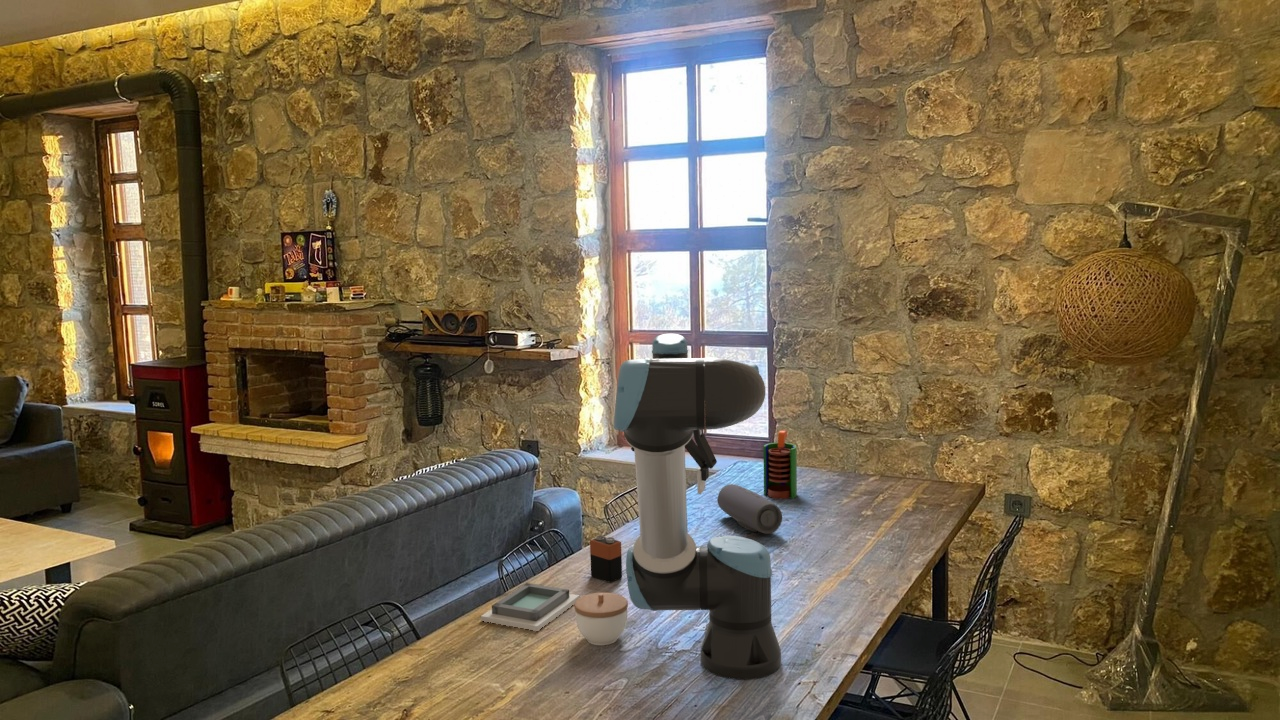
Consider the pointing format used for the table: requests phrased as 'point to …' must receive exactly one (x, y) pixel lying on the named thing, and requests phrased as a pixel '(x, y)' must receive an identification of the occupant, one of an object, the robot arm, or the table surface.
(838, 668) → the table surface
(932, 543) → the table surface
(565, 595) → the charging dock
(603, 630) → the lidded jar
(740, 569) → the robot arm
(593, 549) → the battery
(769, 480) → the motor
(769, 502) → the bluetooth speaker
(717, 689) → the table surface
